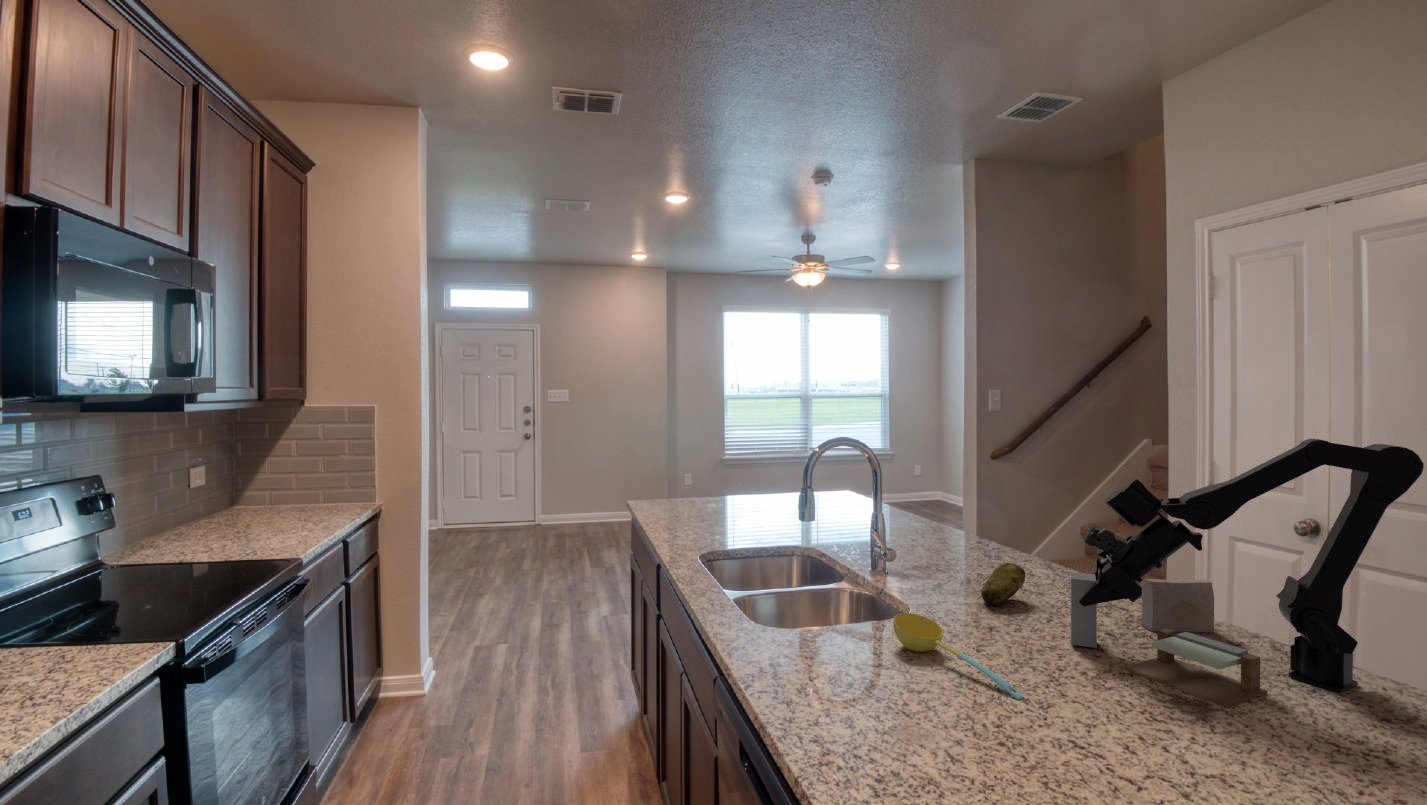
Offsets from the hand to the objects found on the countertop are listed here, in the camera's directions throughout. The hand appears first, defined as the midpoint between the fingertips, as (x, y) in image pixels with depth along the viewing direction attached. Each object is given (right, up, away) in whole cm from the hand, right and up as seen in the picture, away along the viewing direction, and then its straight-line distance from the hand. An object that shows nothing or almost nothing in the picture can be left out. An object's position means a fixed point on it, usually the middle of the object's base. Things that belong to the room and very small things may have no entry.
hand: (1080, 600), depth 121 cm
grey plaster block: (+23, -8, +8) cm, 26 cm away
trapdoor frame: (+10, -8, -15) cm, 20 cm away
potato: (-4, -8, +25) cm, 26 cm away
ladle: (-27, -9, -10) cm, 30 cm away
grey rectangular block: (0, -8, 0) cm, 8 cm away
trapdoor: (+11, -5, -15) cm, 19 cm away
